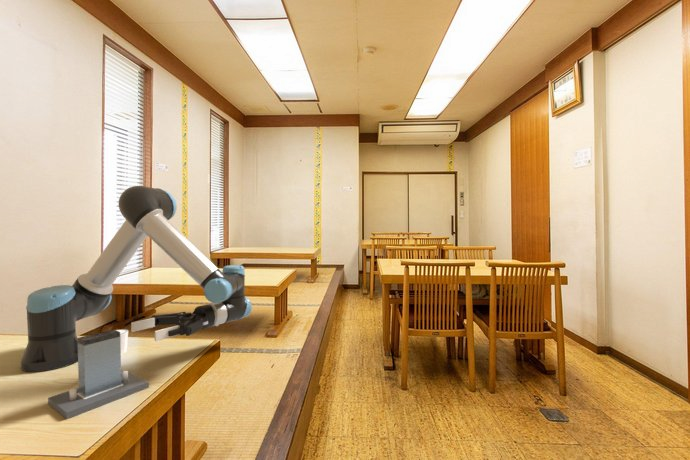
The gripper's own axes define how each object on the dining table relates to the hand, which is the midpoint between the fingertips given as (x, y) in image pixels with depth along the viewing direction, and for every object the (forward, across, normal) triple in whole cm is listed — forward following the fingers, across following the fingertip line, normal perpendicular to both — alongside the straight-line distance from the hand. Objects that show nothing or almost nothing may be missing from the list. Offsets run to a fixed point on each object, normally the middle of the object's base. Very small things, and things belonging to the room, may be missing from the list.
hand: (142, 331), depth 100 cm
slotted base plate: (+11, -2, -13) cm, 17 cm away
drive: (+11, -2, -12) cm, 16 cm away
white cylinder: (-4, +28, -14) cm, 31 cm away
